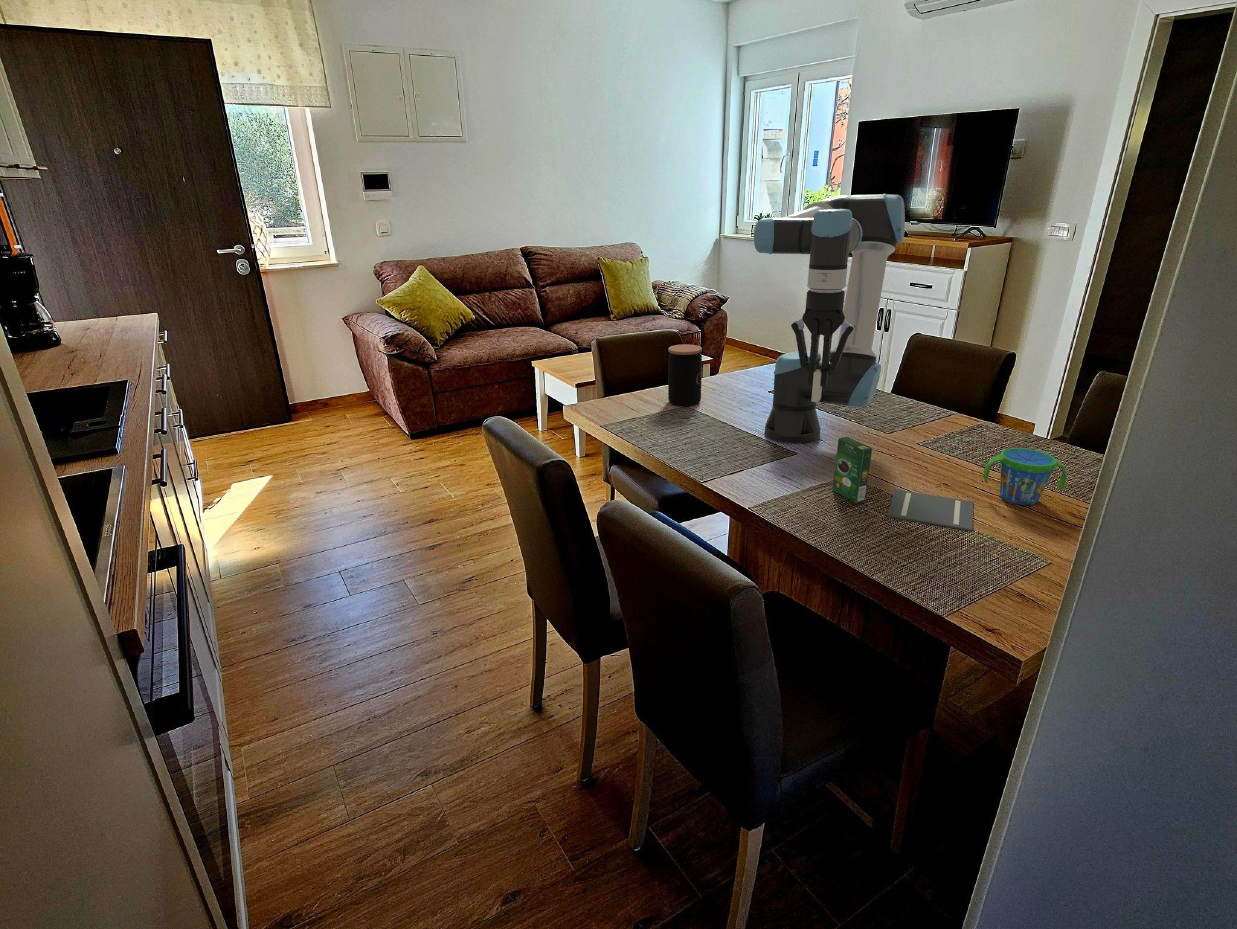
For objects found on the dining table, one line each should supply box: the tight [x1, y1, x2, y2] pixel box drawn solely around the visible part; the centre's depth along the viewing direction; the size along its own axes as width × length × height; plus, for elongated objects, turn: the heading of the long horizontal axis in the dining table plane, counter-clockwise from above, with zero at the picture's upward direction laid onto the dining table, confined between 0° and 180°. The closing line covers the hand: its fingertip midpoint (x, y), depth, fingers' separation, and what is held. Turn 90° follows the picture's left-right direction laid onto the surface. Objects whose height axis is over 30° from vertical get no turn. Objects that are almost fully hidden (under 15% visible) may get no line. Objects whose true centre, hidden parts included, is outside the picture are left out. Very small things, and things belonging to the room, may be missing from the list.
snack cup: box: [983, 447, 1068, 506], centre depth 146 cm, size 16×10×10 cm
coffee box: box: [832, 436, 873, 504], centre depth 149 cm, size 8×3×13 cm, turn 25°
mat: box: [887, 489, 974, 532], centre depth 144 cm, size 16×14×1 cm
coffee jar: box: [667, 343, 703, 408], centre depth 216 cm, size 11×11×18 cm
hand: (816, 400), depth 147 cm, fingers closed
